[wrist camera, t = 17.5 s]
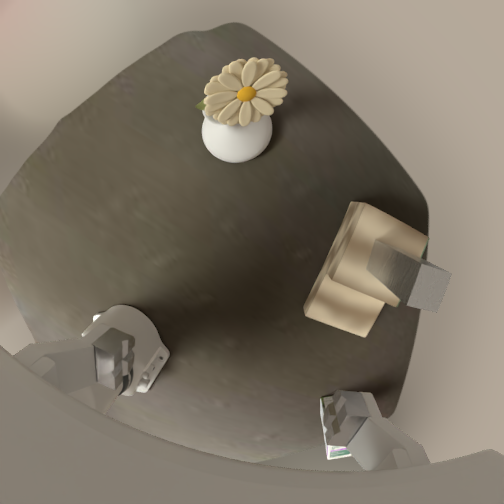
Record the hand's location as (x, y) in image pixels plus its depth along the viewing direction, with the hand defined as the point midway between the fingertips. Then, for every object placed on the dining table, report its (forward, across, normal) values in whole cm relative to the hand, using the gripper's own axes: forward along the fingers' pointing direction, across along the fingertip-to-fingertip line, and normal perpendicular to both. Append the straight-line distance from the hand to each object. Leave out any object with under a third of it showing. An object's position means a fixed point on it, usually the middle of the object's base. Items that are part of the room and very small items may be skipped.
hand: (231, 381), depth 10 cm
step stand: (+37, -17, +1) cm, 41 cm away
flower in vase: (+37, +8, -16) cm, 41 cm away
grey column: (+29, -17, -3) cm, 34 cm away
